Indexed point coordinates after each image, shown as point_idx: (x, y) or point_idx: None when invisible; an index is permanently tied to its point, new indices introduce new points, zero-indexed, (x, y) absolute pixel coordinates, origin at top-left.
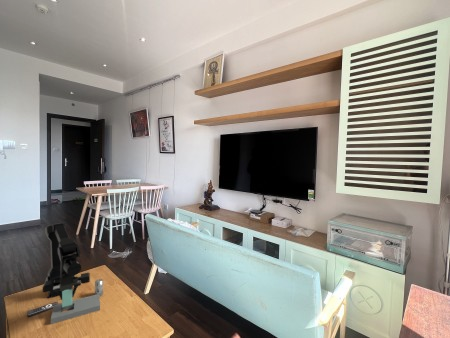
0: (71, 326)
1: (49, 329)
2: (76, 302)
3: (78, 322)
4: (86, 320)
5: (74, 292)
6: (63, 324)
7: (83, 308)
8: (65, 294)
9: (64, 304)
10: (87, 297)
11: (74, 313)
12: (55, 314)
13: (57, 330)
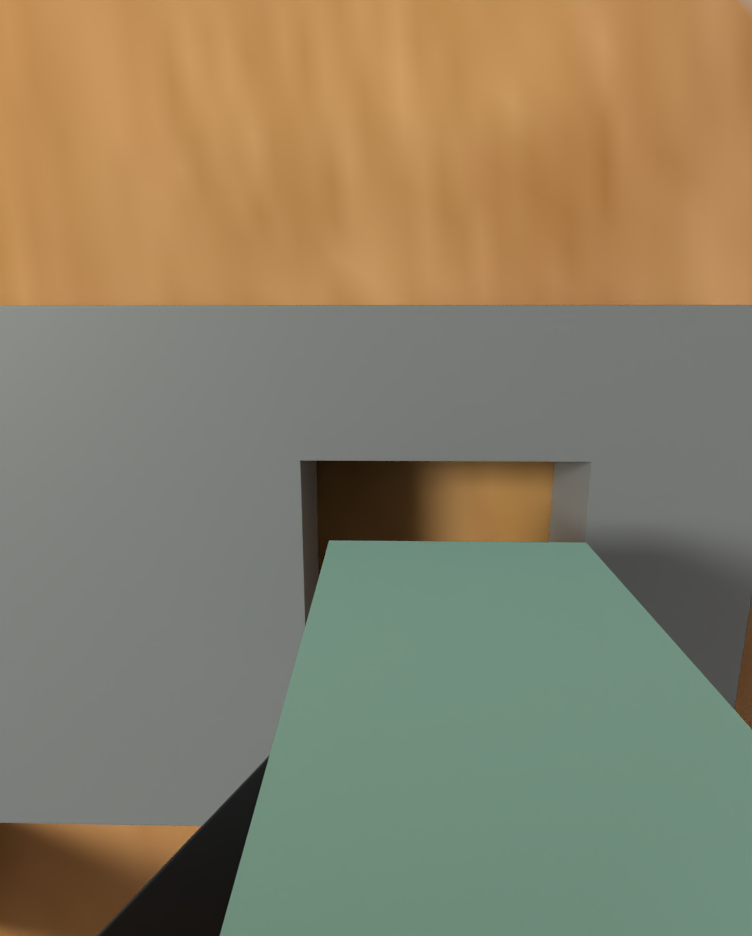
0: (327, 8)
1: (736, 149)
2: (263, 713)
3: (198, 86)
4: (40, 70)
5: (140, 918)
6: (485, 182)
7: (71, 375)
8: (683, 892)
9: (543, 572)
10: (44, 793)
11: (275, 309)
12: (689, 452)
13: (591, 16)
